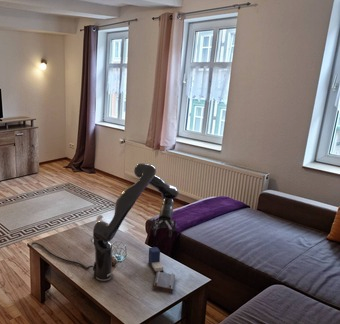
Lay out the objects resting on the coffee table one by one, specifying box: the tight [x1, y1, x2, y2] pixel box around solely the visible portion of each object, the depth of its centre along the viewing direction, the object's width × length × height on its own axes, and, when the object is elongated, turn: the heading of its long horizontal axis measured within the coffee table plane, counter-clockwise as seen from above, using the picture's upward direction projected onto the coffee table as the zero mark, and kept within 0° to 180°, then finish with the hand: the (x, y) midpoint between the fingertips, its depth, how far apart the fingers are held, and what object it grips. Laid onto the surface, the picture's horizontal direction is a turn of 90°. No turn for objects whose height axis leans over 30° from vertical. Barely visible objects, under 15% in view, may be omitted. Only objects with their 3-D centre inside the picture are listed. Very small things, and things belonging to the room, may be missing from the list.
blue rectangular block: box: [147, 246, 165, 276], centre depth 194 cm, size 11×5×11 cm, turn 11°
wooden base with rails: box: [152, 271, 176, 294], centre depth 181 cm, size 10×13×4 cm
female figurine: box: [88, 213, 105, 244], centre depth 222 cm, size 11×16×20 cm
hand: (161, 235), depth 192 cm, fingers open, 8 cm apart
